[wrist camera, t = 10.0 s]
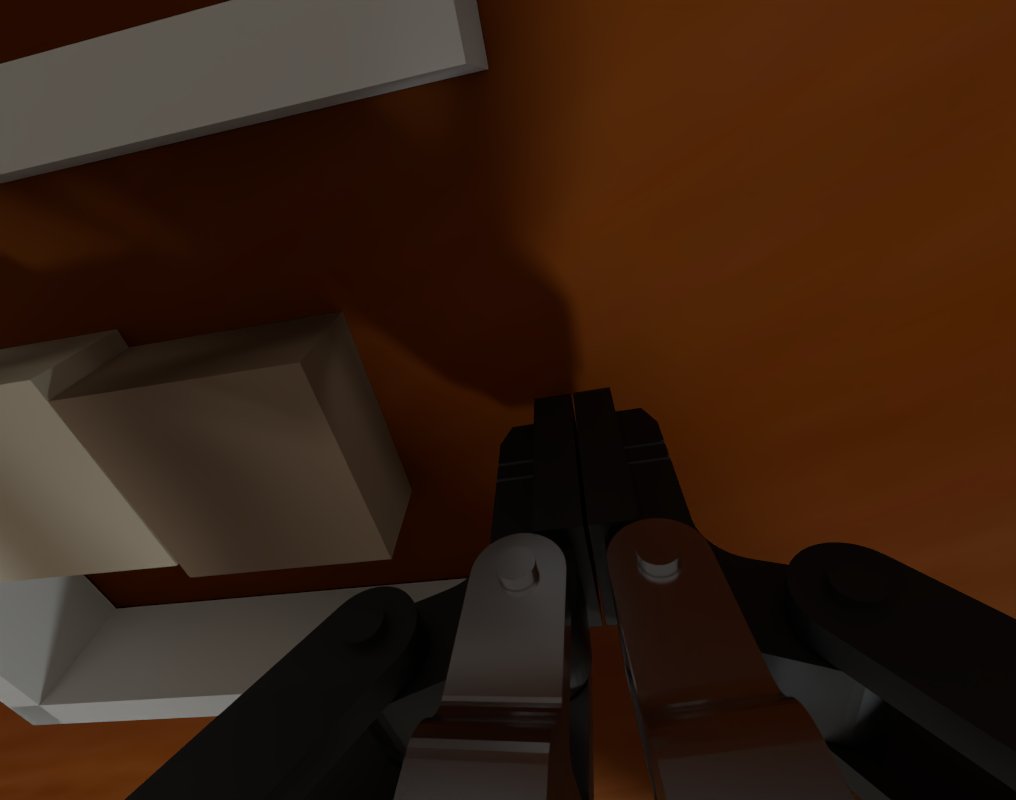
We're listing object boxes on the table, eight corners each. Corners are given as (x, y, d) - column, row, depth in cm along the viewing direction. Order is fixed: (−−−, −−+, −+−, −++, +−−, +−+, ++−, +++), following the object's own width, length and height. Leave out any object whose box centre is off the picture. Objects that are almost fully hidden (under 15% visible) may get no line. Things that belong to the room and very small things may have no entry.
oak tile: (127, 323, 11) (29, 380, 9) (233, 491, 14) (177, 565, 12) (-60, 355, 12) (-190, 415, 10) (74, 509, 14) (-5, 583, 12)
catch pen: (474, -10, 7) (442, -60, 5) (582, 591, 15) (590, 697, 12) (-329, 198, 10) (-636, 238, 7) (108, 629, 17) (33, 725, 14)
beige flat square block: (346, 306, 11) (299, 362, 8) (414, 482, 13) (391, 559, 11) (139, 340, 11) (48, 401, 9) (242, 502, 14) (190, 577, 12)
